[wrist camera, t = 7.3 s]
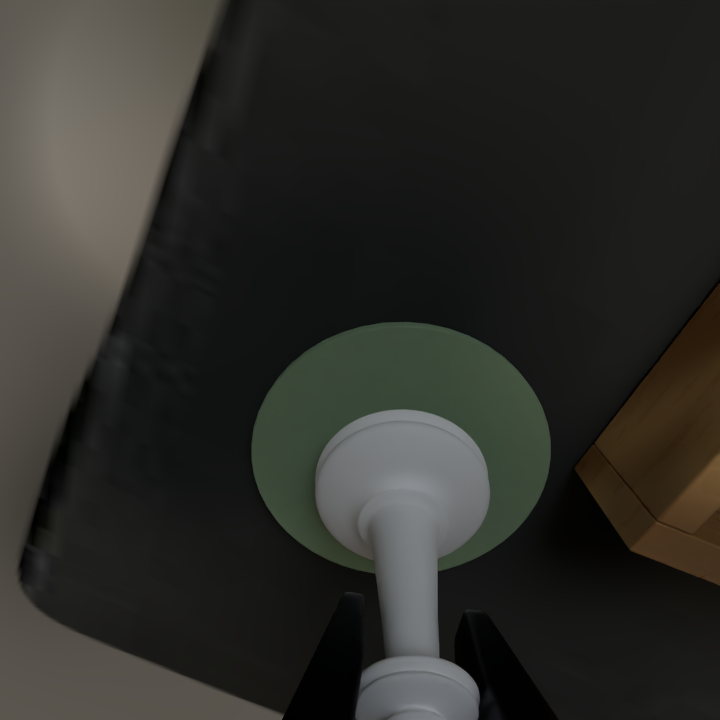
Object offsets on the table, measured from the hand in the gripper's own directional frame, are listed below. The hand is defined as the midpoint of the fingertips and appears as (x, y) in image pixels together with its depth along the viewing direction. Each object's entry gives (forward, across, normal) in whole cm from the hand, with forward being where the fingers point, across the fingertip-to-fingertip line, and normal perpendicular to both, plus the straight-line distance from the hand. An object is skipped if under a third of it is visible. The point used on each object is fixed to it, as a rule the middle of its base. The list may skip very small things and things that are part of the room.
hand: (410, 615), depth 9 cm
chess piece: (+4, 0, 0) cm, 4 cm away
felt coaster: (+5, 0, 0) cm, 5 cm away
